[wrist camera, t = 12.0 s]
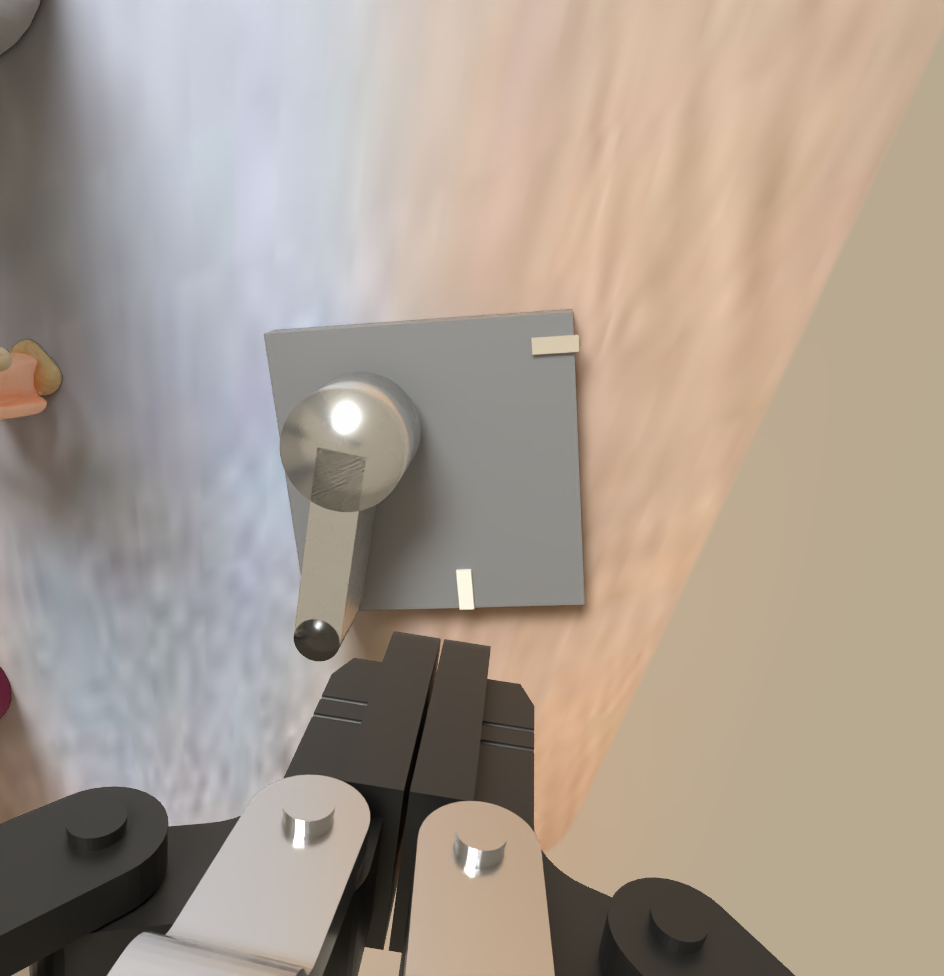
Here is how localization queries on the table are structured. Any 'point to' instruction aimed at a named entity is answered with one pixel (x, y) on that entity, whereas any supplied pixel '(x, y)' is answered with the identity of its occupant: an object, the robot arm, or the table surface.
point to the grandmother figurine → (26, 379)
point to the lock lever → (343, 493)
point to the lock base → (461, 456)
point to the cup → (4, 693)
